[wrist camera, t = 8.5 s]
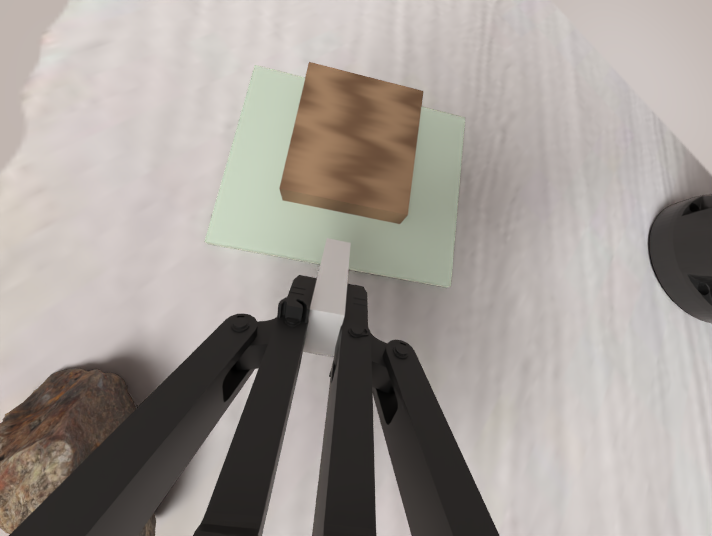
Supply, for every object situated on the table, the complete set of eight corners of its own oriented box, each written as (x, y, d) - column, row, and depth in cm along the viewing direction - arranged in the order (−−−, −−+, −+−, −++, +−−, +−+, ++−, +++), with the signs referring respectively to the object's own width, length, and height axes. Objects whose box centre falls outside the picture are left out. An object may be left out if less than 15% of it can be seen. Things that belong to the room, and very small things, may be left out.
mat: (461, 122, 33) (465, 117, 32) (447, 287, 29) (450, 286, 28) (256, 71, 31) (254, 64, 30) (207, 243, 27) (204, 241, 26)
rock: (151, 341, 25) (24, 388, 23) (68, 338, 17) (-139, 411, 15) (192, 514, 22) (51, 584, 20) (116, 612, 14) (-133, 746, 12)
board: (400, 224, 29) (415, 109, 32) (407, 215, 26) (423, 91, 29) (282, 200, 28) (309, 82, 31) (279, 188, 25) (309, 62, 28)
